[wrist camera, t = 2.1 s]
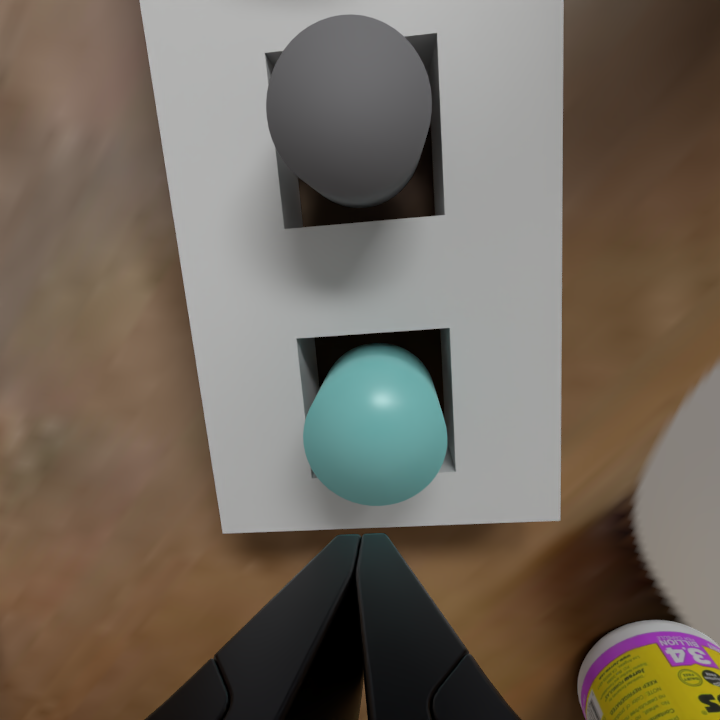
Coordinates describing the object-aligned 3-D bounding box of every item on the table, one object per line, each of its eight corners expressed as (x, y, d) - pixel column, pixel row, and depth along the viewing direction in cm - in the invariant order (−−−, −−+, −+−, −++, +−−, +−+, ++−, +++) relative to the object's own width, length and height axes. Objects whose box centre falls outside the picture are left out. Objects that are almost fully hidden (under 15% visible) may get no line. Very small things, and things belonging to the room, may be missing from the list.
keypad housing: (526, -320, 15) (566, -487, 12) (532, 475, 21) (560, 520, 17) (145, -255, 16) (78, -391, 13) (249, 488, 22) (222, 533, 18)
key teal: (432, 338, 17) (444, 365, 13) (437, 447, 18) (450, 502, 14) (317, 346, 17) (295, 375, 13) (328, 453, 18) (310, 508, 14)
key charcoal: (418, 66, 15) (427, 4, 11) (425, 202, 16) (436, 187, 12) (290, 81, 16) (256, 24, 12) (304, 213, 16) (276, 202, 13)
